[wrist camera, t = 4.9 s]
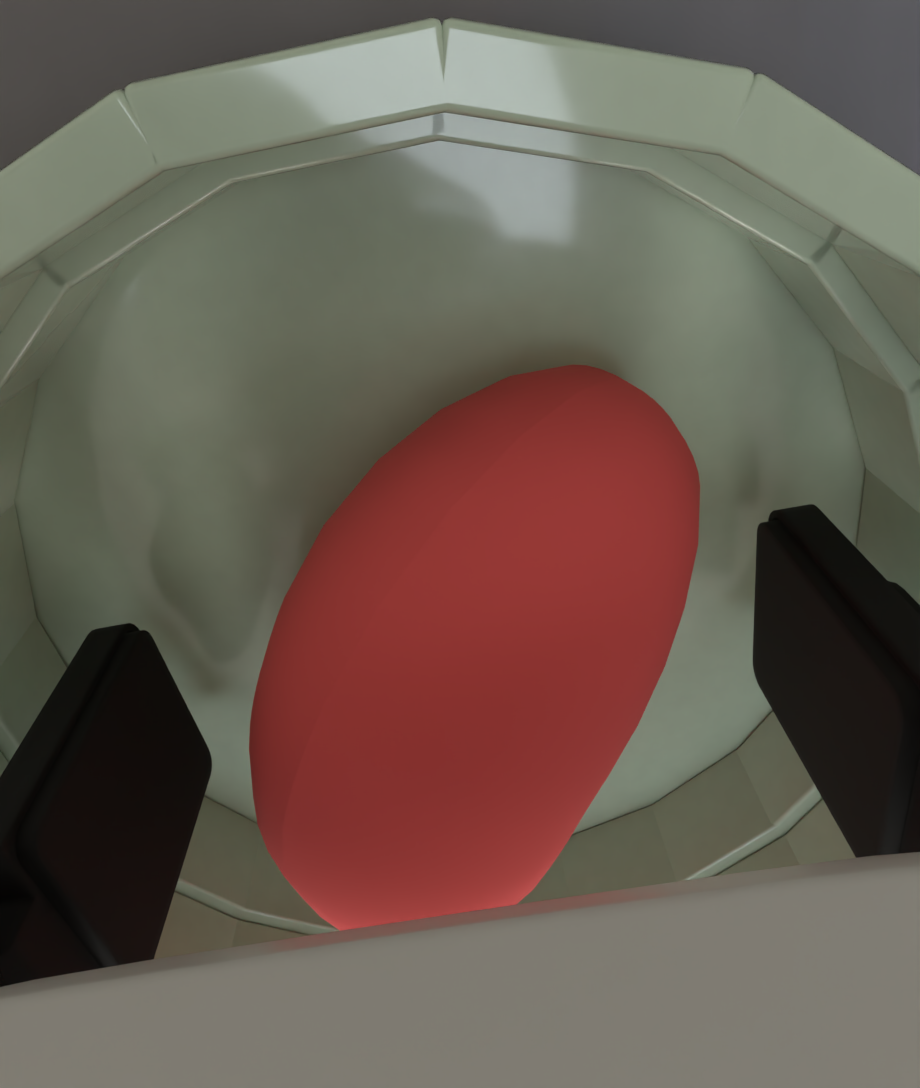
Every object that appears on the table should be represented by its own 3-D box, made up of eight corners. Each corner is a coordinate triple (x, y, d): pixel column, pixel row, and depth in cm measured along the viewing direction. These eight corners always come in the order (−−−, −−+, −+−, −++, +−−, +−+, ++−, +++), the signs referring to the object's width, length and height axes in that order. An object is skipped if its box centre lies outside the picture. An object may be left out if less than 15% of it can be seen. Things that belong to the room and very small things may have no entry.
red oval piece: (180, 618, 14) (182, 1003, 11) (368, 233, 8) (495, 901, 5) (423, 629, 17) (479, 944, 14) (715, 350, 10) (943, 826, 7)
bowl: (-268, 194, 9) (-676, 254, 6) (989, -76, 8) (1378, -188, 5) (185, 910, 17) (126, 1116, 14) (856, 806, 16) (972, 995, 13)
